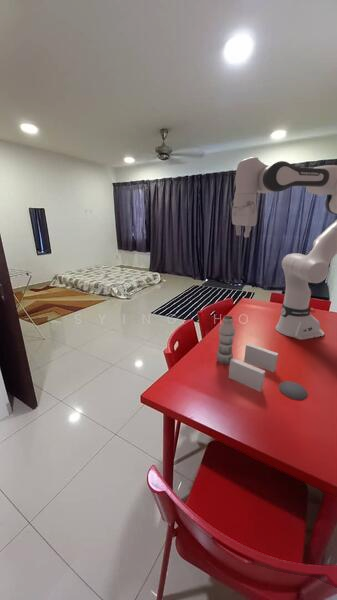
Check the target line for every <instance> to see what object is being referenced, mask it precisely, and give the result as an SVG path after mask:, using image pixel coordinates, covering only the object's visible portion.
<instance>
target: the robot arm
mask: <svg viewBox="0 0 337 600" xmlns="http://www.w3.org/2000/svg"><path fill="white" fill-rule="evenodd" d="M234 183H235V184H234V185H235V192H234V196H233V197H234V198H233V200H232V201H231V203H230V204H231V205H230V206H231V208H232V209H231V223H232V225H235V232H236V236H241V235H242V231H241V230H242V226H243V227H244V232H243V237H244V238H250V234H251V233H250V232H251V230H252V227H256V225H257V222H258V206H257V196H258V195H257V194H259V193H261V194H270V193H278V192H282V191H286V190H287V189H290V188H292V187H302V188H303V187H305V190H306V191H307V193H310V194H313V195H316V196H317V195H319V196H322V195H323V196H326V199H325V205H324V206H325V209H326V211H327V212H328V213H330V214H333V215H337V165H335V164H334V165H330V164H329V165H320V166H316V167H298V166H295V165H293V164H291V163H289V162H288V161H284V160H280V161H276V162H275V163H273V164H271V165H268V164H265V163H264V162H262V161H261V160H260V159H259V157H257V156H252V157H247V158H244V159H242V160H241V161H239V163H237V167H236V172H235V182H234ZM336 255H337V218H336V219H335V220H334V222H333V223H331V224H330V225H329V226H328V227H327V228H326V229H325V230H324V231H323V232H322V233H320V234H319V235H318V236H317V237H316V238H315V239H314V240H313V243H312V249H311V250H310V251H309V253H308V254H303V253H298V252H297V253H288V254H287V255H285V256H284V257H283V258H282V261H281V268H282V270H283V273H284V281H285V291H284V297H283V303H281V304H282V305H281V309H280V317H279V320H278V322H277V324H276V326H275V330H276V331H277V332H278V333H280V334H282V335H284V336H287V337H290V338H294V339H297V340H300V341H301V340H303V341H304V340H308V339H314V337H315V338H319V337H320V336H321V337H324V336H325V332H324V331H323V330H322V329H321V324H320V321H319V320H318V319H317V318H316V317H314V315H312V314H314V313H316V312H317V311H316V309H315V308H313V307H310V306H309V305H310V302H311V301H310V300H311V295H312V291H311V288H310V286H309V283H310V284H311V283H312V284H319V283H322V282H323V281H324V280H326V278H327V277H328V275H329V272H330V268H329V265H330V264H331V262H332V260H333V259H334V257H335V256H336Z"/></svg>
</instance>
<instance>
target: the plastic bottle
mask: <svg viewBox="0 0 337 600" xmlns="http://www.w3.org/2000/svg"><path fill="white" fill-rule="evenodd" d="M233 323H234V317H233V316H231V315H224V316H223V318H222V323H221V324H220V326H219V328H218V337H219V338H218V339H219V340H218V349H217V352H216V360H217V361H218V363H220V364H222V365H230V360H231V359H232V358H234V357H233V344H234V338H235V335H236V327H235V326H234V324H233Z"/></svg>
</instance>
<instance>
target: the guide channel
mask: <svg viewBox="0 0 337 600" xmlns="http://www.w3.org/2000/svg"><path fill="white" fill-rule="evenodd" d="M278 358H279V353H278V352H275V351H272V350H269V349H267V348H264V347H261V346H258V345H255V344H252V343H249V342H248V343H246V344H245V350H244V357H243V359H244V360H243V361H241V360H239V359H236V358H234V357H233V358H232V359H231V360H230V363H229V368H228V378H229V379H230V380H233V381H236V382H238V383H239V384H242V385H244V386H246V387H248V388H250V389H252V390H255V391H257V392H259V393H260V392H262V390H263V388H264V381H265V376H266V375H265V374H266V370H267V371H269V372H272V373H274V372H275V371H276V369H277V363H278ZM258 367H259V368H258ZM261 368H262V369H261ZM263 369H264V370H263Z"/></svg>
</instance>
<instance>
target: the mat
mask: <svg viewBox="0 0 337 600" xmlns="http://www.w3.org/2000/svg"><path fill="white" fill-rule="evenodd" d="M278 389H279V391H280V393H281V394H282V395H283V396H285V397H287V398H289V399H290V400H296V401H303V400H306V399H307V398H308V394H309V393H308V391H307V389H306V388H305V387H303V385H301V384H300V383H297V382H295V381H289V380H288V381H287V380H285V381H282V382H280V383H279V384H278Z"/></svg>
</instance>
